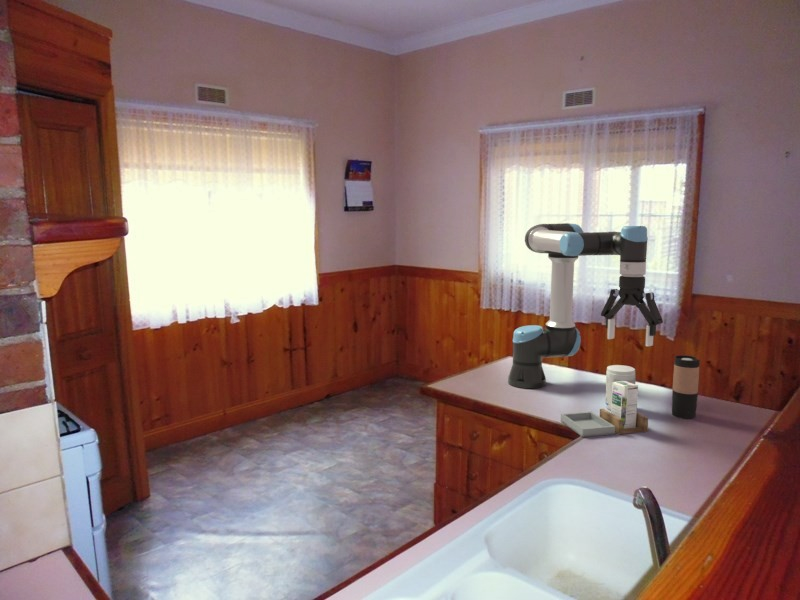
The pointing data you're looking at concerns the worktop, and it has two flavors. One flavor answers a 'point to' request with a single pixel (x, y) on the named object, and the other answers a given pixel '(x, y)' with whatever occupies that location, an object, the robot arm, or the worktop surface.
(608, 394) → the supplement tub
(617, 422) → the cradle
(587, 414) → the tray
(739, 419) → the worktop surface
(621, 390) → the syrup box
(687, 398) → the travel mug
